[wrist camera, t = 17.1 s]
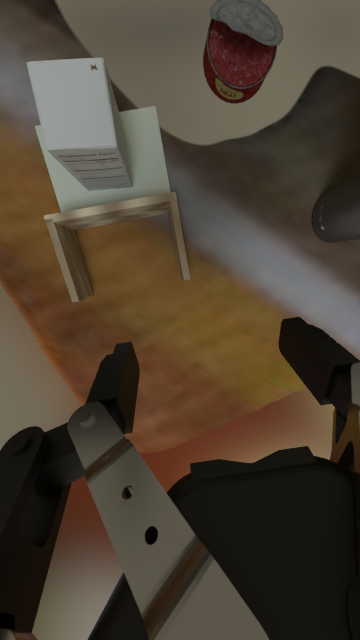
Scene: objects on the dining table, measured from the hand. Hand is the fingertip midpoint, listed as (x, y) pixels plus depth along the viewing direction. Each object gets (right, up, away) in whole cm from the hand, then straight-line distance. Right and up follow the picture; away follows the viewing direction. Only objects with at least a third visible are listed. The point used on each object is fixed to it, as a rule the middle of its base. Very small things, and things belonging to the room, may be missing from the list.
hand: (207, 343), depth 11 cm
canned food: (+7, +40, +20) cm, 45 cm away
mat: (-13, +26, +22) cm, 36 cm away
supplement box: (-13, +26, +21) cm, 36 cm away
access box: (-10, +13, +25) cm, 30 cm away
